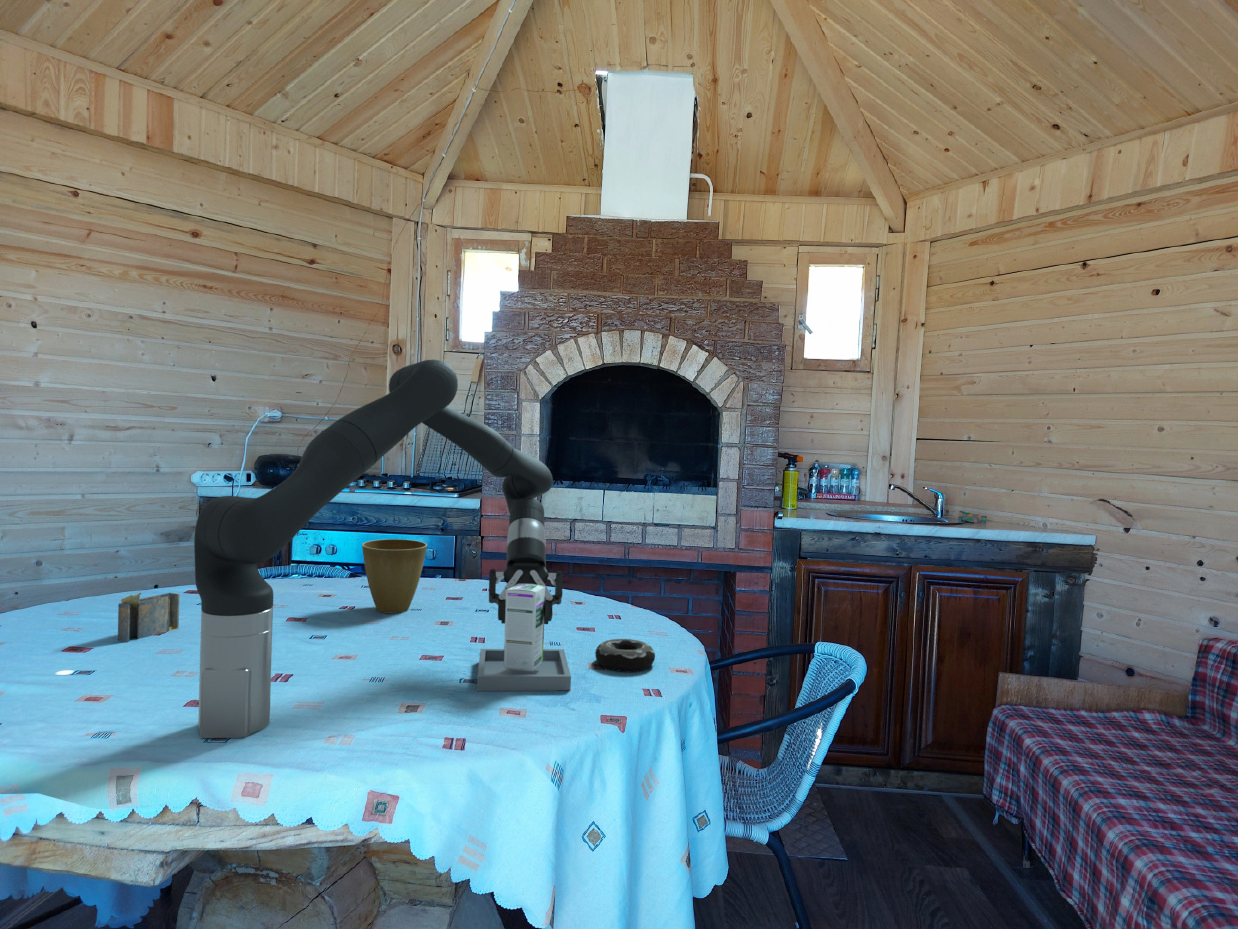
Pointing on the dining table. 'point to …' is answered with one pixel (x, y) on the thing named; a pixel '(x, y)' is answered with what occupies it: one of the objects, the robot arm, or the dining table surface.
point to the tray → (523, 673)
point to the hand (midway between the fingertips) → (525, 621)
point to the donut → (625, 654)
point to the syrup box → (524, 627)
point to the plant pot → (393, 572)
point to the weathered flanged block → (147, 615)
